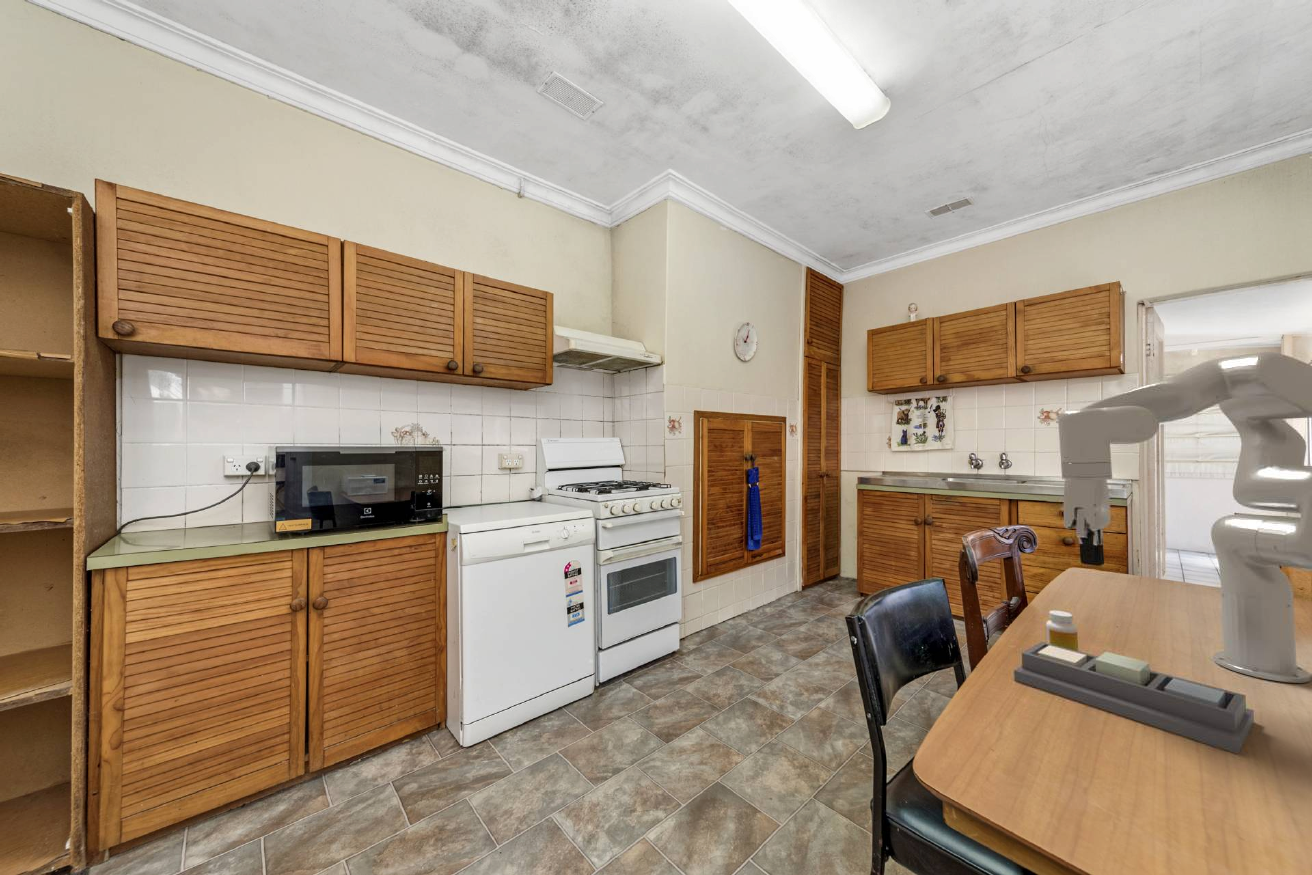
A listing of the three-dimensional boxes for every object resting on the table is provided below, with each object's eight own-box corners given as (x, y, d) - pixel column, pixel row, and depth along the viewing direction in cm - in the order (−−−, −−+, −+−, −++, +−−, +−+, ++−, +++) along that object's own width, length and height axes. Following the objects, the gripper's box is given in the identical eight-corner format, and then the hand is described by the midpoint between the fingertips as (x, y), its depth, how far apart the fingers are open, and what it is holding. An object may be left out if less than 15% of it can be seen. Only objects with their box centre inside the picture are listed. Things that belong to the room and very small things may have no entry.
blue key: (1174, 695, 87) (1173, 678, 87) (1225, 709, 82) (1224, 691, 82) (1165, 705, 83) (1164, 687, 84) (1218, 721, 78) (1217, 702, 79)
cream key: (1049, 659, 102) (1049, 645, 102) (1086, 670, 97) (1086, 655, 97) (1038, 667, 98) (1037, 652, 99) (1075, 678, 93) (1075, 662, 94)
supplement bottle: (1084, 663, 105) (1082, 618, 105) (1055, 662, 106) (1054, 616, 106) (1068, 653, 110) (1067, 609, 110) (1041, 651, 111) (1040, 608, 111)
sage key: (1106, 667, 94) (1106, 651, 94) (1150, 679, 89) (1149, 662, 89) (1096, 675, 91) (1095, 659, 91) (1140, 688, 86) (1139, 671, 86)
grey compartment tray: (1044, 661, 106) (1043, 638, 106) (1254, 722, 82) (1252, 692, 82) (1014, 680, 98) (1013, 655, 98) (1237, 754, 74) (1236, 720, 74)
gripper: (1076, 468, 105) (1082, 555, 104) (1047, 473, 96) (1054, 567, 96) (1123, 469, 98) (1130, 561, 98) (1097, 474, 90) (1104, 574, 90)
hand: (1092, 564), depth 97 cm, fingers closed
